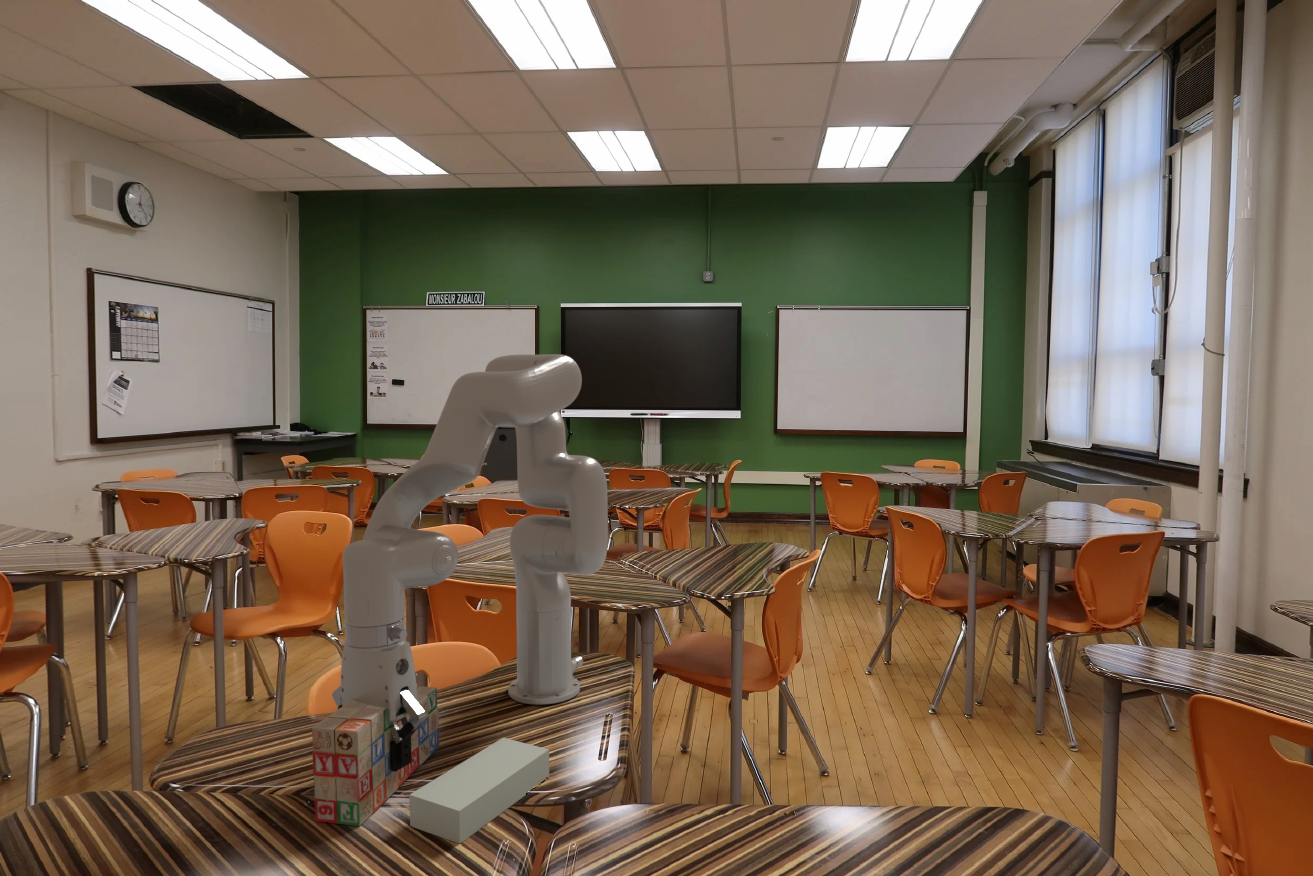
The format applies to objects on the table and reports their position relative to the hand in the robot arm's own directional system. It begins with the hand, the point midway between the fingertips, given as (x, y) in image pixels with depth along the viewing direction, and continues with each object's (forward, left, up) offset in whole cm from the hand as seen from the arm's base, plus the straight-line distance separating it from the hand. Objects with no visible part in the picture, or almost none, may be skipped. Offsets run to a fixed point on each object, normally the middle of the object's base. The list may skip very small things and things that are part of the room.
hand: (379, 759), depth 106 cm
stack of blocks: (-1, 0, -4) cm, 4 cm away
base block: (-4, +15, -4) cm, 16 cm away
